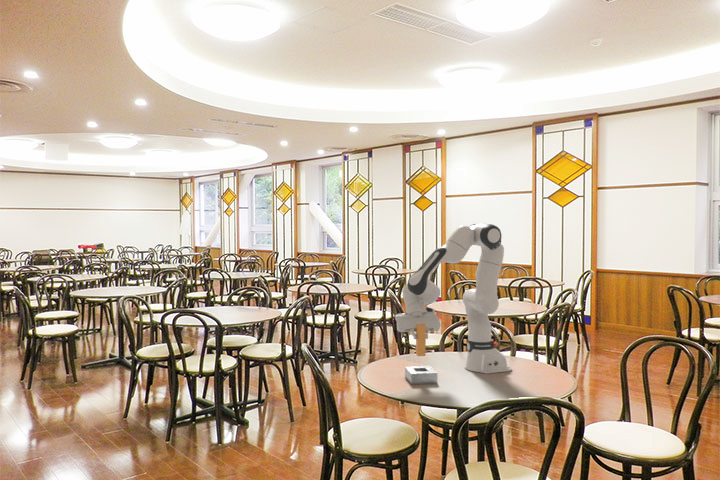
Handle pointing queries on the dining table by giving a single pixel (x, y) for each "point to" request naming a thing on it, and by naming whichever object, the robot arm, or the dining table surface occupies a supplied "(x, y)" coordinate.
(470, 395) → the dining table surface
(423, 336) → the rectangular peg
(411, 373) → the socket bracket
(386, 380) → the dining table surface
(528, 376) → the dining table surface
